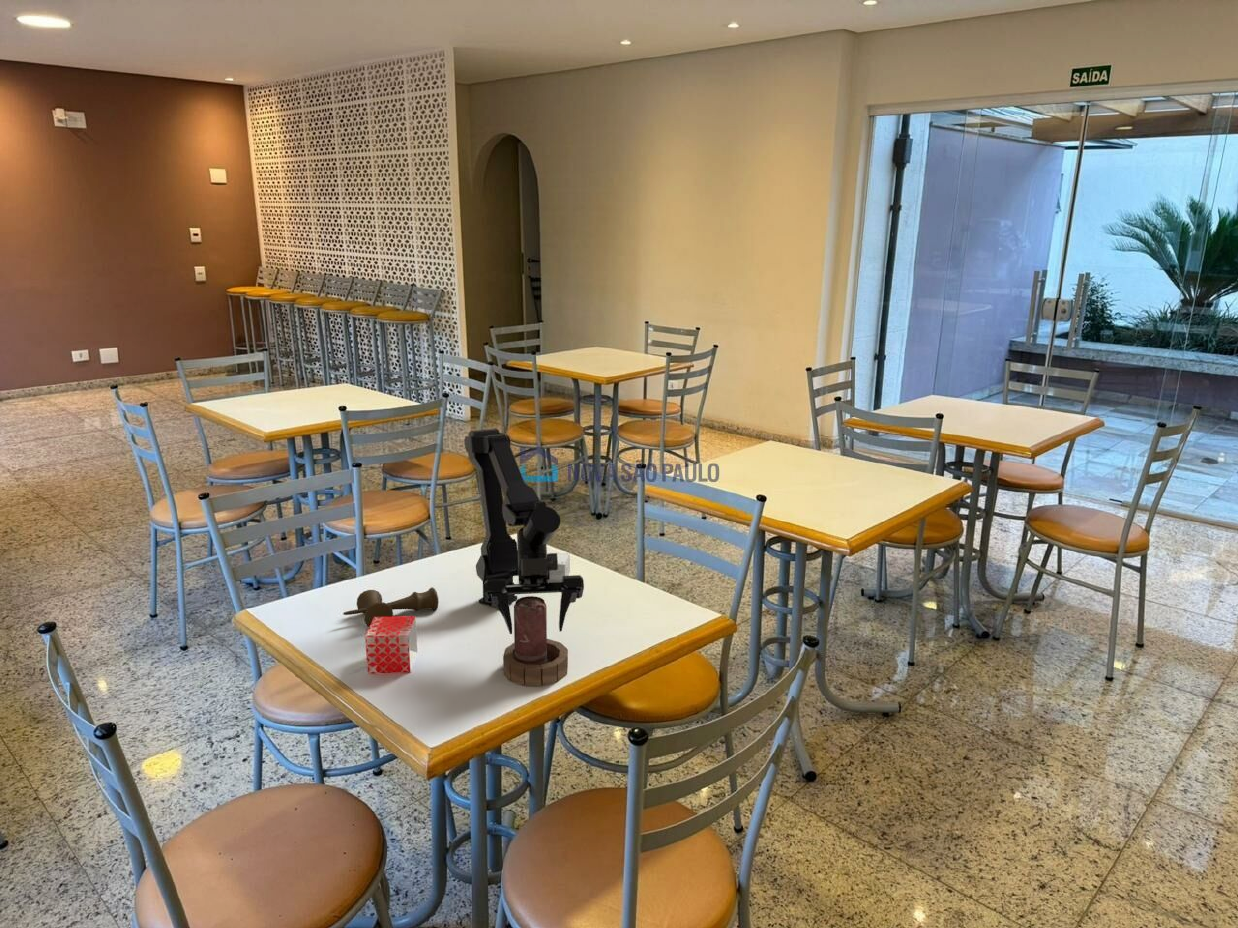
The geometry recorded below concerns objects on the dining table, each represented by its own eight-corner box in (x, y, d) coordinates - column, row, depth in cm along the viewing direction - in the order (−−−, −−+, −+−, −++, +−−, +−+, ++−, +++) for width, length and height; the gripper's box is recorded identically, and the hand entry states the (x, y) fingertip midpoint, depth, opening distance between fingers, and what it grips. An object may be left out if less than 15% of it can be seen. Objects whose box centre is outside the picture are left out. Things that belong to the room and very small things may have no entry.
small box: (570, 571, 202) (570, 552, 201) (565, 584, 195) (565, 564, 194) (539, 569, 203) (539, 550, 202) (533, 582, 196) (533, 562, 194)
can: (543, 679, 152) (542, 610, 148) (510, 675, 153) (509, 606, 150) (552, 663, 158) (551, 596, 154) (520, 659, 159) (519, 593, 155)
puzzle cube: (376, 653, 161) (374, 616, 158) (417, 652, 161) (415, 616, 159) (367, 674, 153) (365, 635, 151) (410, 673, 153) (408, 635, 151)
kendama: (443, 619, 177) (348, 636, 167) (430, 603, 185) (339, 618, 175) (443, 593, 176) (347, 608, 166) (430, 578, 184) (337, 592, 174)
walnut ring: (491, 675, 153) (490, 658, 152) (528, 648, 163) (528, 632, 162) (544, 692, 148) (544, 675, 147) (579, 664, 158) (579, 647, 157)
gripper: (483, 539, 151) (484, 620, 144) (583, 535, 154) (589, 615, 146) (484, 562, 161) (485, 639, 153) (578, 559, 164) (584, 634, 156)
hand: (536, 632), depth 152 cm, fingers open, 9 cm apart
